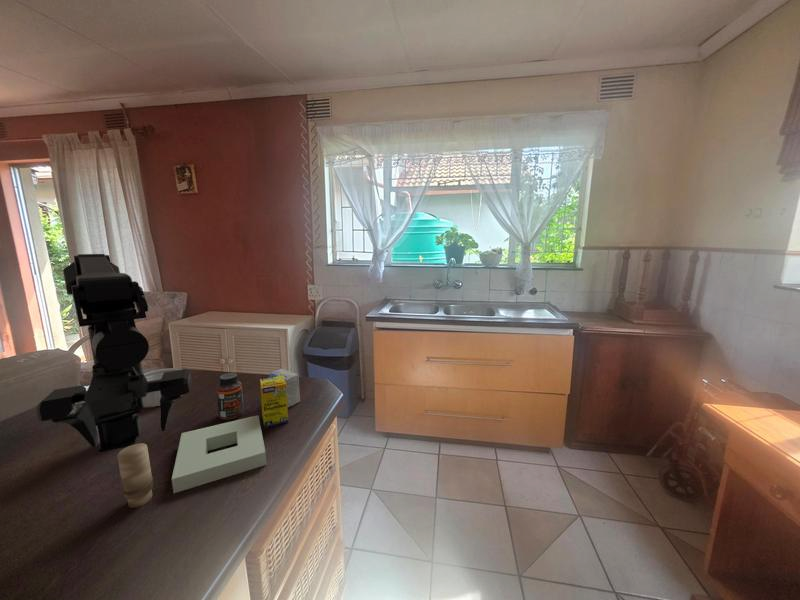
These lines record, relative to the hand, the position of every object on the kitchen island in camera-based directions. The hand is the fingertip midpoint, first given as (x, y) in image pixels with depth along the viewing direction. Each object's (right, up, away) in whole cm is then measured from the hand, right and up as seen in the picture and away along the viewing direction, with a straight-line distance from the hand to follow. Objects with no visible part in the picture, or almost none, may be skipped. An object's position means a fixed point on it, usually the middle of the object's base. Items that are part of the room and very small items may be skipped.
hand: (130, 437), depth 54 cm
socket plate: (+8, -10, +14) cm, 19 cm away
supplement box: (+14, -8, +28) cm, 32 cm away
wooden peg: (0, -12, +2) cm, 13 cm away
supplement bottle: (+1, -7, +30) cm, 31 cm away
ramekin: (-24, -6, +39) cm, 46 cm away
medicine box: (+13, -6, +38) cm, 40 cm away
